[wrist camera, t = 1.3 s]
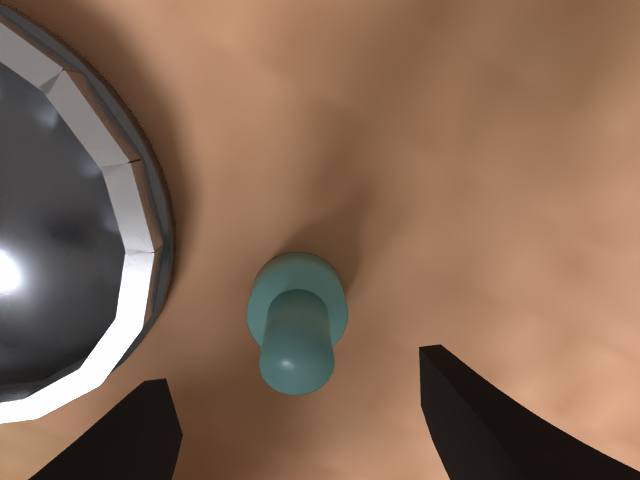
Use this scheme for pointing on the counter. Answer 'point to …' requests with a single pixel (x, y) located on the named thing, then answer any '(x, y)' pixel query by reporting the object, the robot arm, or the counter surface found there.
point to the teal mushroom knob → (297, 321)
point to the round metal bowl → (72, 224)
